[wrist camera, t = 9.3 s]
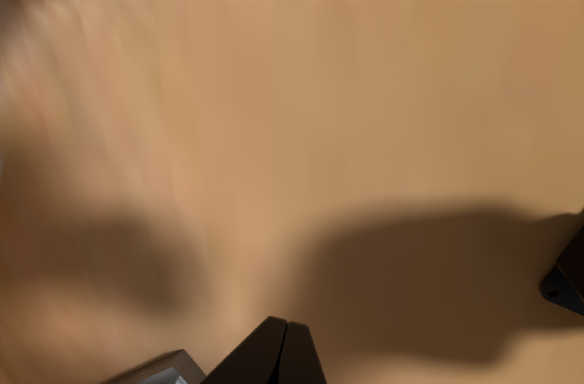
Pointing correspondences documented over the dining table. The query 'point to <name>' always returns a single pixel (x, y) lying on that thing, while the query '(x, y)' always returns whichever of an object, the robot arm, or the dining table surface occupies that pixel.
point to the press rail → (166, 372)
